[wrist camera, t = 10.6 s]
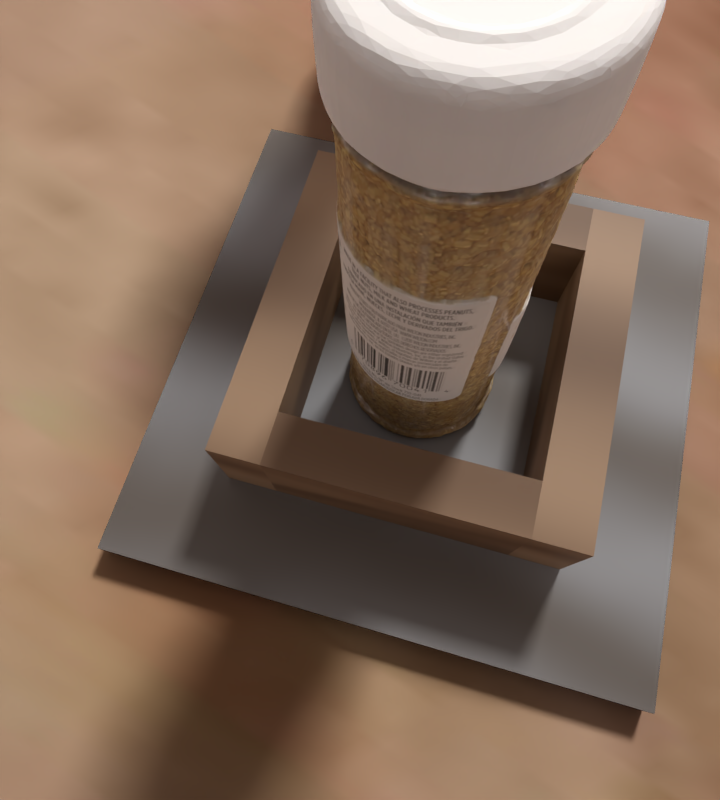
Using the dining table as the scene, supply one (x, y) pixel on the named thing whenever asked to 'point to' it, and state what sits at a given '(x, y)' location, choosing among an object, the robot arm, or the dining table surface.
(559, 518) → the socket holder
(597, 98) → the sprinkles bottle
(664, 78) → the dining table surface
